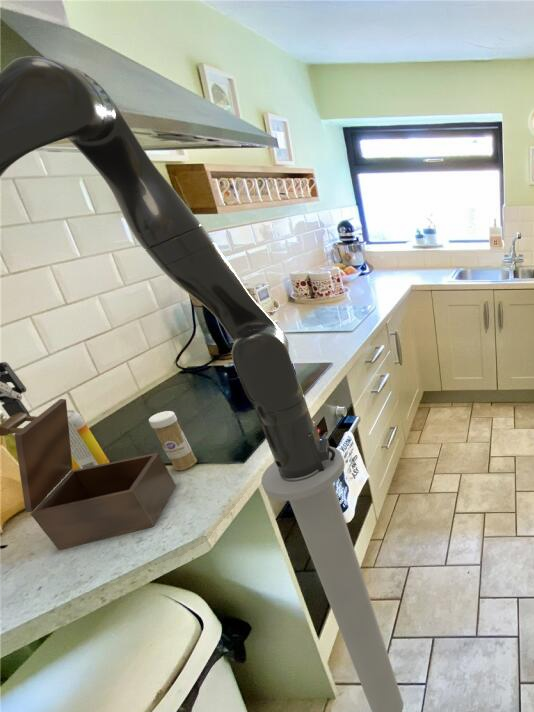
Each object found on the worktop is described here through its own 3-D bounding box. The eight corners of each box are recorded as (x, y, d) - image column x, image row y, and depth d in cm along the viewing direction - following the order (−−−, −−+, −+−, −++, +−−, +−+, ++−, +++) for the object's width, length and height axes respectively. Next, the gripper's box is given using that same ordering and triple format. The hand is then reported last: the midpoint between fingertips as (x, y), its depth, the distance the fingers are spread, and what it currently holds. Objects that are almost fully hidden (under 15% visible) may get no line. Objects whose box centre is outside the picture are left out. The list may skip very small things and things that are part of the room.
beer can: (106, 460, 100) (73, 406, 93) (114, 468, 96) (80, 413, 90) (73, 474, 95) (35, 418, 88) (80, 483, 92) (41, 426, 85)
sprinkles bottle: (174, 474, 94) (146, 423, 87) (174, 464, 97) (148, 414, 91) (198, 465, 96) (173, 416, 90) (197, 456, 99) (174, 407, 93)
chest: (176, 485, 90) (158, 452, 86) (153, 526, 79) (131, 491, 75) (94, 504, 86) (71, 470, 82) (58, 550, 75) (30, 514, 71)
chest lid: (66, 399, 77) (27, 396, 74) (21, 435, 66) (-27, 432, 64) (72, 468, 82) (36, 467, 80) (31, 512, 71) (-12, 512, 69)
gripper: (-65, 356, 58) (6, 451, 66) (5, 326, 70) (58, 408, 78) (-139, 367, 56) (-57, 463, 64) (-53, 333, 68) (7, 417, 76)
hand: (7, 433), depth 71 cm, fingers open, 8 cm apart
